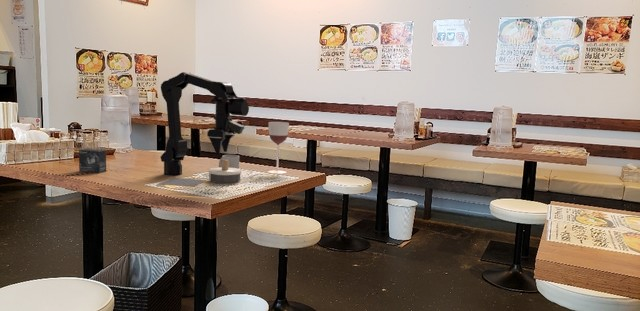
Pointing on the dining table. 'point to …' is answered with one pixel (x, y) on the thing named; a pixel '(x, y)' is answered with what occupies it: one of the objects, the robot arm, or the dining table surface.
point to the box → (92, 160)
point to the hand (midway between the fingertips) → (221, 153)
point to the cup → (230, 161)
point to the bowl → (224, 178)
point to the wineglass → (278, 138)
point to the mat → (183, 182)
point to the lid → (224, 170)
